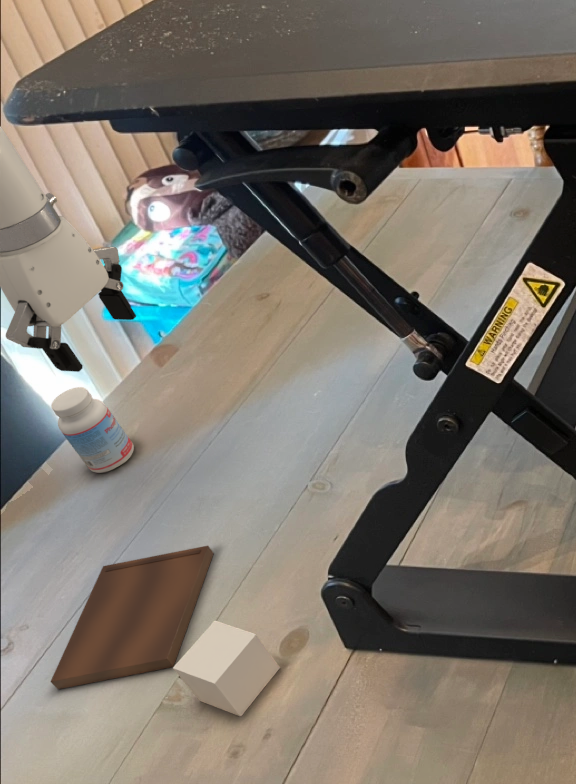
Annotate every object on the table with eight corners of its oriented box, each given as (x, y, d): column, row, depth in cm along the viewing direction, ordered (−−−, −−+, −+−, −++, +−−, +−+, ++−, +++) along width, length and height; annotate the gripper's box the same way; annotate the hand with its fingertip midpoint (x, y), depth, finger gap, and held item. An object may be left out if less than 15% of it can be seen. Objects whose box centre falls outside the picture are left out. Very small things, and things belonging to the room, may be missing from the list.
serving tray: (57, 689, 116) (49, 681, 115) (109, 573, 128) (102, 565, 127) (173, 667, 115) (166, 658, 114) (213, 553, 128) (208, 544, 127)
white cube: (239, 653, 115) (214, 619, 112) (280, 667, 113) (256, 633, 109) (199, 701, 111) (172, 667, 108) (240, 717, 109) (214, 683, 105)
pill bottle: (139, 458, 145) (96, 398, 138) (93, 481, 143) (47, 421, 136) (131, 435, 149) (89, 376, 142) (87, 457, 147) (42, 398, 140)
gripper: (49, 185, 126) (121, 299, 137) (-65, 271, 114) (24, 389, 124) (99, 185, 124) (168, 300, 135) (-11, 272, 111) (74, 392, 122)
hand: (99, 343), depth 129 cm, fingers open, 9 cm apart
